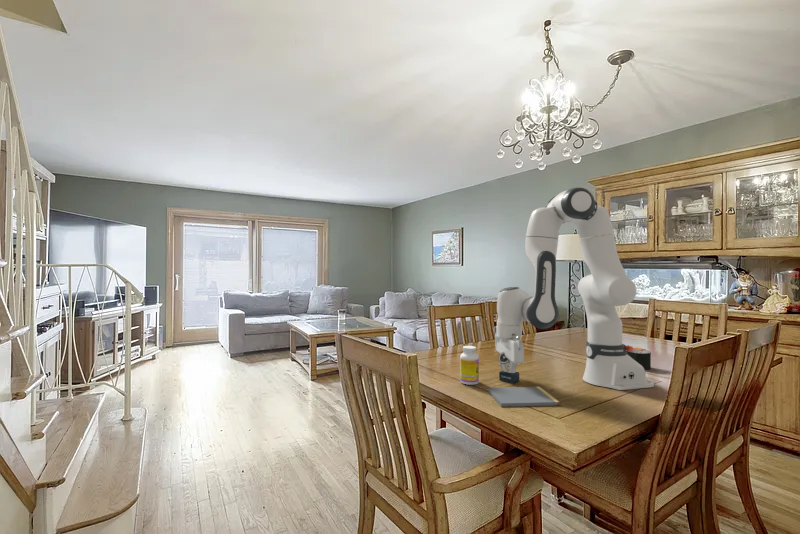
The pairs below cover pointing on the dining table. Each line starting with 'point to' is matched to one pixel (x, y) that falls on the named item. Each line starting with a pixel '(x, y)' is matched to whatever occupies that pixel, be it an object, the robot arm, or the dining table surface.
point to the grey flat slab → (522, 396)
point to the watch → (506, 374)
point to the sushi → (641, 357)
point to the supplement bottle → (469, 366)
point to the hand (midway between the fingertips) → (509, 369)
